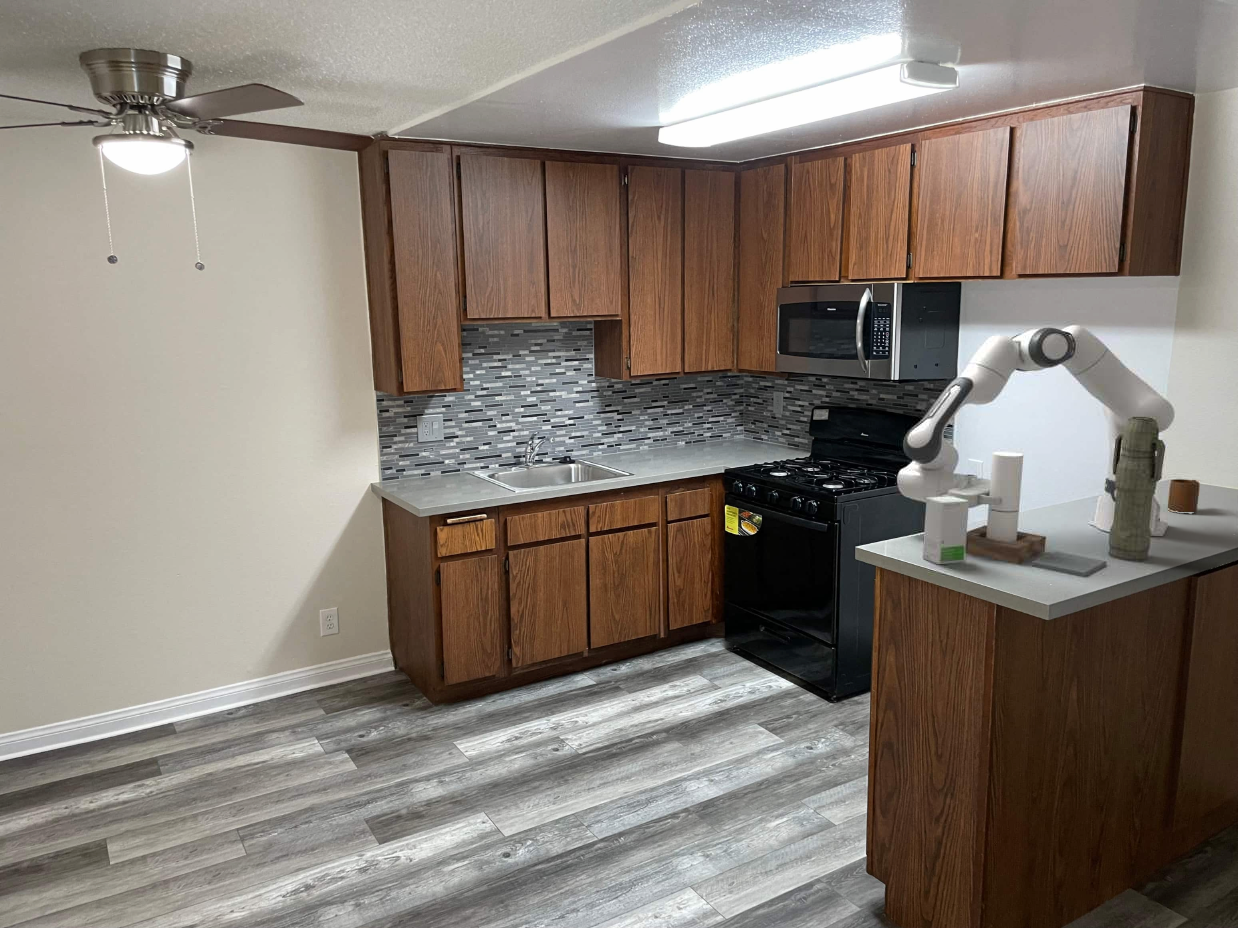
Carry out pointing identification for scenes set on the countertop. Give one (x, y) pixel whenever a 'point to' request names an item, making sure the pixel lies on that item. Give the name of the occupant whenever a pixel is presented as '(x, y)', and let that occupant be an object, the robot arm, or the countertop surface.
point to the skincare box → (945, 529)
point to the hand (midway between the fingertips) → (1007, 498)
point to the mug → (1183, 495)
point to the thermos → (1135, 487)
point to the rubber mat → (1069, 563)
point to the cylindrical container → (1005, 496)
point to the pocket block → (1004, 546)
